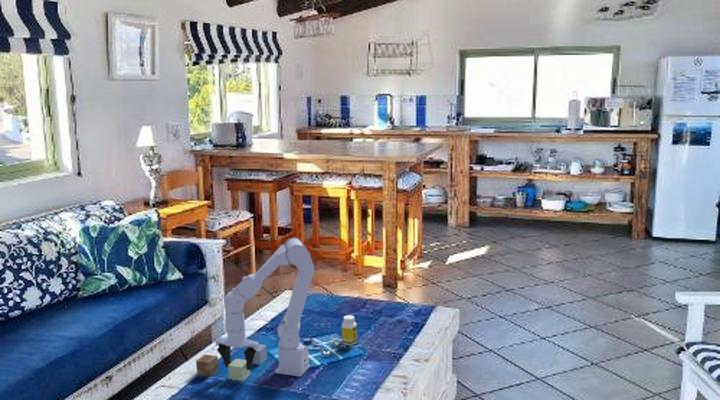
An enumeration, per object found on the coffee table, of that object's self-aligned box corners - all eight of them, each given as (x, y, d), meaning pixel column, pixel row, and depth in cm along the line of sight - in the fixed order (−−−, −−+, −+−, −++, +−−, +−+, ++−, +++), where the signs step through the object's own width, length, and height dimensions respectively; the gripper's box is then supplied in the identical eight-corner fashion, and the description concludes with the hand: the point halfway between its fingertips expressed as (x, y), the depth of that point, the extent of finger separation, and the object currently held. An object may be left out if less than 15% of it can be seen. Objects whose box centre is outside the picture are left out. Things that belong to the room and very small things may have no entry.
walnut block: (218, 369, 207) (217, 356, 206) (210, 376, 203) (209, 362, 202) (205, 368, 209) (204, 354, 208) (197, 374, 204) (196, 360, 203)
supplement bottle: (355, 346, 222) (354, 320, 220) (340, 345, 223) (339, 319, 221) (358, 339, 227) (357, 314, 225) (344, 338, 228) (343, 313, 226)
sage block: (250, 374, 204) (249, 360, 203) (242, 381, 199) (241, 367, 198) (236, 372, 205) (235, 358, 204) (229, 379, 201) (228, 365, 200)
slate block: (267, 358, 215) (266, 345, 214) (260, 364, 210) (259, 351, 209) (254, 356, 216) (253, 343, 215) (247, 363, 212) (246, 349, 211)
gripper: (262, 325, 200) (264, 364, 203) (221, 321, 204) (224, 359, 207) (252, 334, 194) (255, 374, 196) (211, 330, 198) (214, 369, 201)
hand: (238, 367), depth 201 cm, fingers open, 7 cm apart
